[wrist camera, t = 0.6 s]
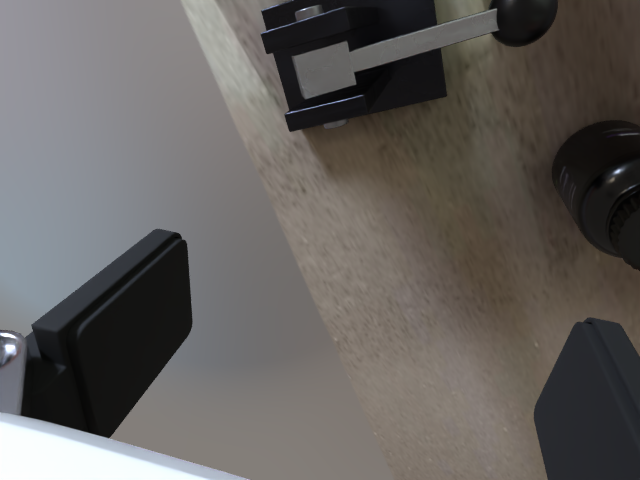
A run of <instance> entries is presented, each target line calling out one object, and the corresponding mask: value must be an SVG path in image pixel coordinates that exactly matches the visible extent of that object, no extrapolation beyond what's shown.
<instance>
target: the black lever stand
mask: <svg viewBox="0 0 640 480" xmlns="http://www.w3.org/2000/svg"><path fill="white" fill-rule="evenodd" d="M261 12H262V16H263V19H264V23H265V26H266V30H267V31H266V32H262V33H261V37H262V40H263V44H264V47H265V51H266V54H270V53H273V54H274V58H275V61H276V65H277V68H278V72H279V75H280V79H281V82H282V86H283V89H284V93H285V96H286V100H287V103H288V107H289V110H290V111H288V112H287V113H285V118H286V122H287V125H288V129H289V131H290V132H292V131H296V130H301V129H305V128H310V127H314V126H318V125H323V124H324V128H325V129H331V128H336V127H339V126H342V125H345V124H347V123H348V119H349V118H354V117H358V116H363V115H367V114H371V113H376V112H380V111H385V110H389V109H394V108H398V107H402V106H407V105H411V104H416V103H420V102H424V101H429V100H433V99H438V98H442V97H446V96H447V91H446V84H445V77H444V70H443V62H442V55H441V48H438V49H434V50H431V51H427V52H424V53H421V54H417V55H414V56H410V57H407V58H403V59H400V60H397V61H393V62H390V63H386V64H383V65H379V66H376V67H373V68H369V69H366V70H362V71H359V72H355V73H354V75H355V79H356V85H355V86H351V87H348V88H344V89H341V90H338V91H334V92H331V93H327V94H324V95H320V96H317V97H314V98H310V99H307V100H305V99H304V97H303V96H302V94H301V90H300V86H299V82H298V79H297V75H296V71H295V68H294V64H293V60H292V55H296V54H299V53H302V52H306V51H309V50H313V49H316V48H319V47H323V46H326V45H330V44H333V43H337V42H340V41H345V40H347V43H348V47H349V50H353V49H356V48H360V47H363V46H366V45H370V44H373V43H377V42H380V41H383V40H387V39H390V38H394V37H397V36H401V35H404V34H407V33H411V32H414V31H418V30H421V29H425V28H428V27H431V26H435V25H437V19H436V12H435V4H434V0H291V1H288V2H285V3H282V4H279V5H276V6H273V7H270V8H267V9H264V10H262V11H261Z"/></svg>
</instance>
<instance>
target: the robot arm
mask: <svg viewBox="0 0 640 480" xmlns="http://www.w3.org/2000/svg"><path fill="white" fill-rule="evenodd" d="M191 328H192V308H191V294H190V279H189V264H188V250H187V243H186V241H185V240H182V237H181V235H180V234H179V233H176V232H171V231H166V230H162V229H155V230H153V231H152V232H151V233H150V234H148V235H147V236H146V237H144V238H143V239H142V240H140V241H139V242H138V243H137V244H135V245H134V246H133V247H131V248H130V249H129V250H127V251H126V252H125V253H124V254H122V255H121V256H120V257H118V258H117V259H116V260H115V261H113V262H112V263H111V264H110V265H108V266H107V267H106V268H104V269H103V270H102V271H100V272H99V273H98V274H97V275H95V276H94V277H93V278H91V279H90V280H89V281H88V282H86V283H85V284H84V285H82V286H81V287H80V288H79V289H78V290H76V291H75V292H73V293H72V294H71V295H69V296H68V297H67V298H66V299H64V300H63V301H62V302H60V303H59V304H58V305H57V306H55V307H54V308H53V309H51V310H50V311H49V312H48V313H46V314H45V315H44V316H42V317H41V318H40V319H38V320H37V321H36V322H35V323H33V324H32V329H33V332H32V333H30V334H29V335H28V336H26V337H25V338H24V337H23V336H22V335H21V334H20V333H17V332H14V331H8V330H0V480H250V479H247V478H243V477H240V476H237V475H233V474H230V473H226V472H223V471H220V470H216V469H213V468H209V467H206V466H202V465H199V464H195V463H192V462H188V461H185V460H182V459H178V458H175V457H171V456H168V455H165V454H161V453H157V452H154V451H151V450H147V449H144V448H141V447H137V446H134V445H130V444H127V443H123V442H120V441H116V440H113V439H109V438H110V437H111V435H112V434H113V433H114V432H115V430H116V429H117V428H118V427H119V425H120V424H121V422H122V421H123V420H124V419H125V417H126V416H127V415H128V413H129V412H130V410H132V408H133V407H134V406H135V404H136V403H137V402H138V400H139V399H140V398H141V397H142V395H143V394H144V393H145V391H146V390H147V389H148V387H149V386H150V385H151V383H152V382H153V381H154V380H155V378H156V377H157V376H158V374H159V373H160V372H161V370H162V369H163V368H164V366H165V365H166V364H167V363H168V361H169V360H170V359H171V357H172V356H173V355H174V353H175V352H176V351H177V349H178V348H179V347H180V346H181V344H182V343H183V342H184V340H185V339H186V338H187V336H188V335H189V333H190V331H191ZM534 422H535V426H536V430H537V435H538V439H539V443H540V447H541V452H542V456H543V460H544V464H545V469H546V473H547V477H548V480H640V357H639V355H638V353H637V352H636V350H635V348H634V347H633V345H632V343H631V341H630V340H629V338H628V336H627V335H626V333H625V331H624V329H623V328H622V326H621V325H620V324H618V323H615V322H610V321H605V320H601V319H596V318H591V317H590V318H587V319H586V320H585V321H584V322H577V323H576V324H575V325H574V326H573V328H572V330H571V332H570V335H569V337H568V339H567V341H566V343H565V345H564V347H563V349H562V351H561V353H560V355H559V357H558V359H557V361H556V364H555V366H554V368H553V370H552V372H551V374H550V376H549V378H548V380H547V382H546V384H545V386H544V388H543V390H542V393H541V395H540V397H539V399H538V401H537V403H536V405H535V409H534Z"/></svg>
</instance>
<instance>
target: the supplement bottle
mask: <svg viewBox="0 0 640 480" xmlns="http://www.w3.org/2000/svg"><path fill="white" fill-rule="evenodd" d="M552 179H553V183H554V186H555V188H556V190H557V192H558V194H559V196H560V197H561V199H562V201H563V202H564V204H565V206H566V207H567V209H568V211H569V213H570V214H571V216H572V218H573V219H574V221H575V223H576V224H577V226H578V228H579V229H580V231H581V233H582V234H583V235H584V237H585V238H586V239H587V241H588V242H589V243H590V244H591V245H593V246H594V247H595V248H597V249H598V250H600V251H602V252H604V253H606V254H608V255H611V256H614V257H618V258H623V260H624V261H625V263H627V264H629V265H631V267H632V268H634V269H638V270H639V271H640V126H638V125H636V124H633V123H630V122H626V121H619V120H610V121H603V122H598V123H594V124H592V125H589V126H587V127H584V128H583V129H581V130H579V131H577V132H576V133H574V134H573V135H572V136H571V137H570V138H568V139H567V140H566V141H565V143H564V144H563V145H562V146H561V148H560V149H559V151H558V152H557V154H556V157H555V159H554V162H553V167H552Z"/></svg>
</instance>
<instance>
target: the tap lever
mask: <svg viewBox="0 0 640 480" xmlns="http://www.w3.org/2000/svg"><path fill="white" fill-rule="evenodd" d="M557 8H558V0H491V3H490V5H489V9H488V10H486V11H483V12H479V13H476V14H472V15H469V16H466V17H462V18H459V19H455V20H452V21H448V22H445V23H442V24H438V25H435V26H431V27H428V28H425V29H421V30H418V31H414V32H411V33H407V34H404V35H401V36H397V37H394V38H390V39H387V40H383V41H380V42H377V43H373V44H370V45H366V46H363V47H360V48H356V49H353V50H349V47H348V43H347V40H345V41H340V42H337V43H333V44H330V45H326V46H323V47H319V48H316V49H313V50H309V51H306V52H302V53H299V54H296V55H292V60H293V64H294V68H295V71H296V75H297V79H298V82H299V86H300V90H301V94H302V96H303V97H304V99H305V100H307V99H310V98H314V97H317V96H320V95H324V94H327V93H331V92H334V91H338V90H341V89H344V88H348V87H351V86H355V85H356V79H355V75H354V73H355V72H359V71H362V70H366V69H369V68H373V67H376V66H379V65H383V64H386V63H390V62H393V61H397V60H400V59H403V58H407V57H410V56H414V55H417V54H421V53H424V52H427V51H431V50H434V49H438V48H441V47H445V46H448V45H451V44H455V43H458V42H462V41H465V40H469V39H472V38H475V37H479V36H482V35H486V34H489V33H491V34H492V35H493V37H494V38H495V39H496V40H497V41H498V42H500V43H502V44H504V45H506V46H511V47H521V46H526V45H528V44H531V43H533V42H535V41H537V40H538V39H539V38H541V37H542V36H543V35H544V34H545V33H546V32H547V31H548V29H549V28H550V27H551V25H552V23H553V22H554V19H555V17H556V14H557Z"/></svg>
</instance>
